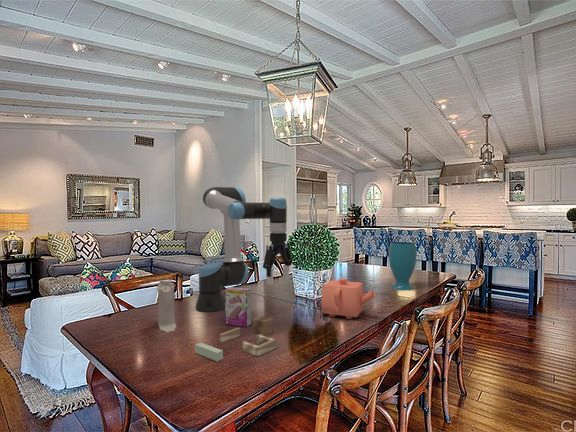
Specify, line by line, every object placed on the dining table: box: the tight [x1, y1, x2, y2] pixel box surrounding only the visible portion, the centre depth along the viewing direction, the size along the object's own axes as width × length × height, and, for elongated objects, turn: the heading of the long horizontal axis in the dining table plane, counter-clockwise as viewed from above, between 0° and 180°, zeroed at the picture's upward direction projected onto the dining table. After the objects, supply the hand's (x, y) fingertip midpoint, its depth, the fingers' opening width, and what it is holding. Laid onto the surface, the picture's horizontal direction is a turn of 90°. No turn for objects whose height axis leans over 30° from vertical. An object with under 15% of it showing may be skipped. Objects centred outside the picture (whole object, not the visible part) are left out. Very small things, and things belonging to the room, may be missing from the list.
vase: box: [388, 241, 418, 291], centre depth 230 cm, size 17×17×30 cm
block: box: [252, 315, 274, 337], centre depth 147 cm, size 6×6×6 cm
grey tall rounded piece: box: [157, 280, 177, 333], centre depth 154 cm, size 7×14×20 cm, turn 27°
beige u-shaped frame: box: [219, 327, 277, 357], centre depth 134 cm, size 22×11×3 cm, turn 53°
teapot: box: [320, 277, 377, 320], centre depth 171 cm, size 25×23×18 cm
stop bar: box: [194, 342, 224, 362], centre depth 123 cm, size 12×2×3 cm, turn 53°
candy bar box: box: [224, 286, 252, 328], centre depth 157 cm, size 11×5×16 cm, turn 71°
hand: (278, 281), depth 154 cm, fingers open, 11 cm apart
